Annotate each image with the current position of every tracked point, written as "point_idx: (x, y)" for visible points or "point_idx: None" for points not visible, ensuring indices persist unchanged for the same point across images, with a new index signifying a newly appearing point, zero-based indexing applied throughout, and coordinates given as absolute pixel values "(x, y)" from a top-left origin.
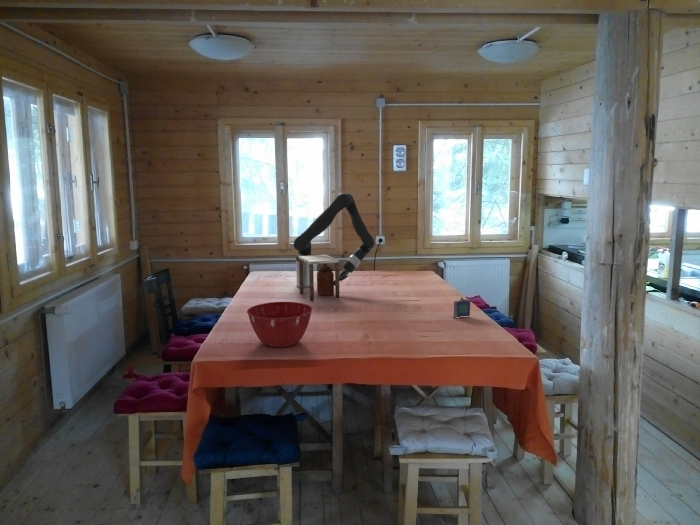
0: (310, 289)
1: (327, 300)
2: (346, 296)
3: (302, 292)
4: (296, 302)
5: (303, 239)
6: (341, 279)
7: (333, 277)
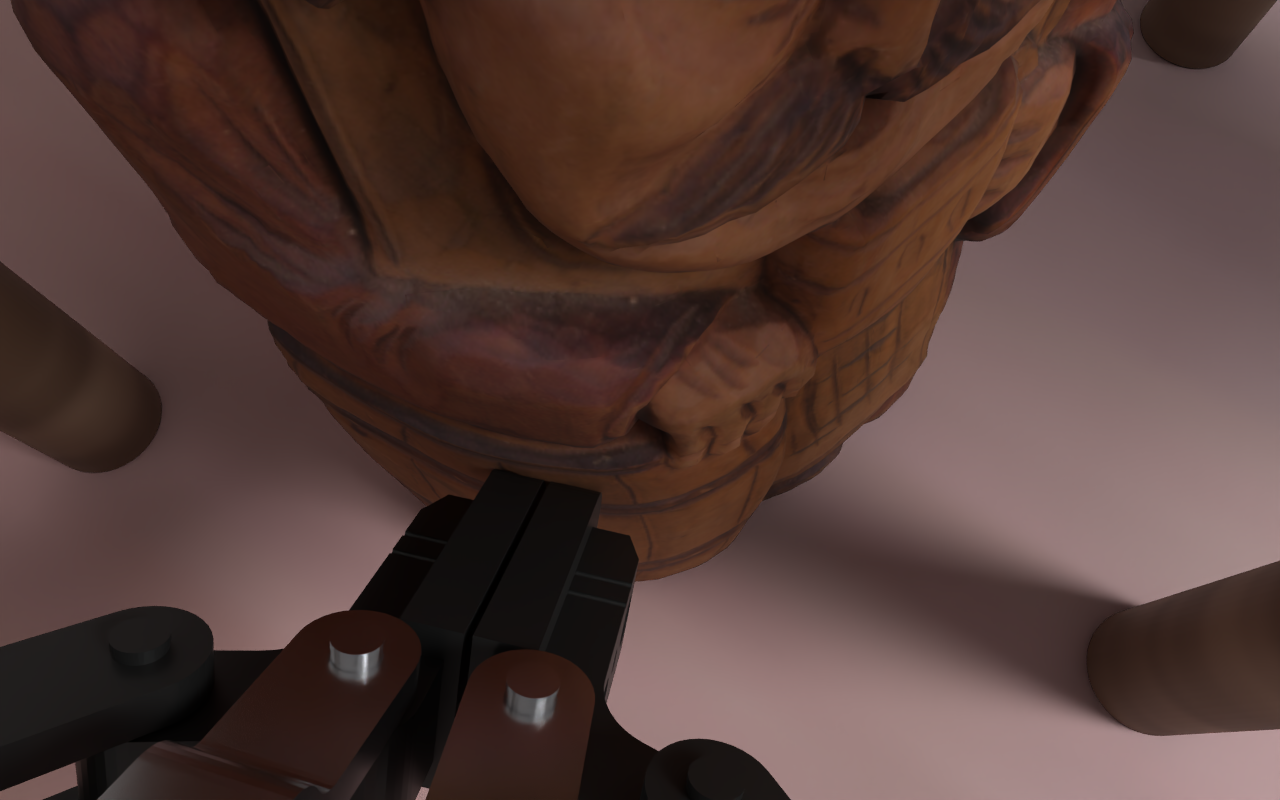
0: None
1: None
2: None
3: (1158, 4)
4: None
5: None
6: (85, 787)
7: (146, 183)
